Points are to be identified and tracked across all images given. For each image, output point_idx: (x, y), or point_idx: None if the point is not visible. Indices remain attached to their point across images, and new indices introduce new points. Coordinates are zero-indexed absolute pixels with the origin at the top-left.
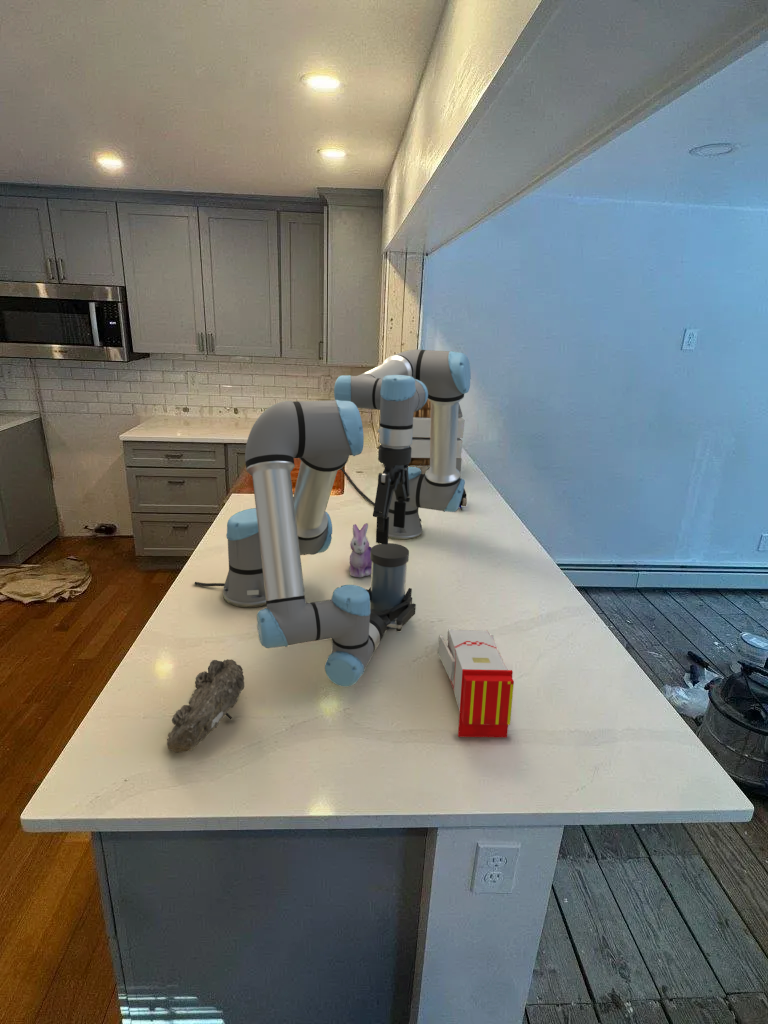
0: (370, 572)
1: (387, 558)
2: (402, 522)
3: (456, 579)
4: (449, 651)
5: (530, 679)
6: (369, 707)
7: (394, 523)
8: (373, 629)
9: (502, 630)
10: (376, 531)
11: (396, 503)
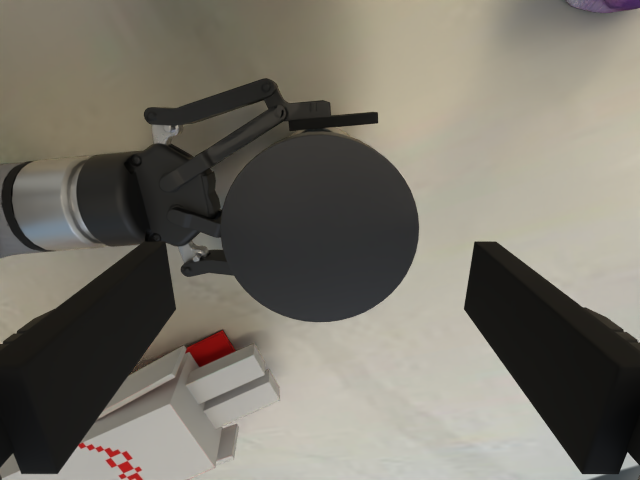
0: (586, 5)
1: (226, 259)
2: (482, 322)
3: (605, 268)
4: (111, 410)
5: (247, 453)
6: (12, 256)
7: (483, 257)
8: (69, 243)
9: (383, 398)
10: (98, 277)
11: (597, 375)
